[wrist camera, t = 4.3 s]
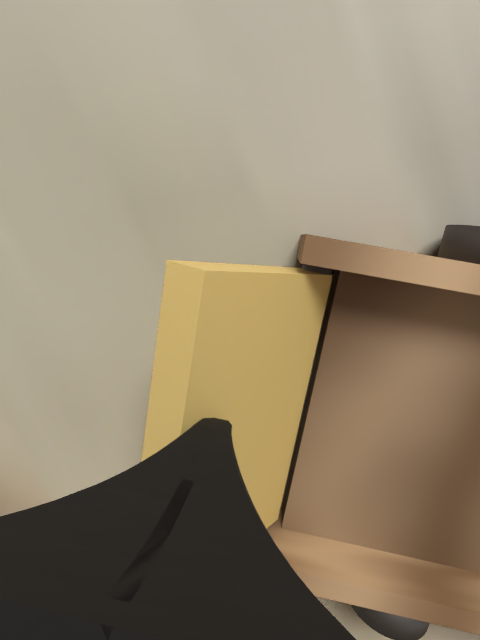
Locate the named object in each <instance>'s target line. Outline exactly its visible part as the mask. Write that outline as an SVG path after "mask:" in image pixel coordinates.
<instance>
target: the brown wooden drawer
mask: <svg viewBox="0 0 480 640" xmlns="http://www.w3.org/2000/svg"><path fill="white" fill-rule="evenodd" d="M297 259H298V260H299V262H300V263H302V264H307V265H313V266H318V267H324V268H330V269H335V272H334V276H333V281H332V285H331V289H330V294H329V298H328V303H327V307H326V312H325V316H324V320H323V325H322V329H321V334H320V338H319V343H318V347H317V351H316V356H315V360H314V365H313V369H312V374H311V378H310V383H309V387H308V391H307V396H306V400H305V405H304V409H303V414H302V418H301V422H300V427H299V431H298V436H297V440H296V445H295V449H294V453H293V458H292V462H291V467H290V471H289V476H288V480H287V484H286V489H285V493H284V498H283V502H282V507H280V512H279V516H278V519H277V520H276V521H275V522H274V523H273V524H272V525H270V526H269V527H268V528H267V530H268V532H269V534H270V536H271V537H272V539H273V541H274V542H275V544H276V545H277V547H278V548H279V550H280V551H281V552H282V554H283V555H284V557H285V558H286V560H287V561H288V562H289V564H290V565H291V567H292V568H293V570H294V571H295V572H296V574H297V575H298V576H299V577H300V579H301V580H302V581H303V582H304V583H305V585H306V586H307V587H308V588H309V590H310V591H311V592H312V593H313V594H314V596H317V597H321V598H326V599H330V600H334V601H338V602H343V603H347V604H351V606H352V608H353V609H354V611H355V612H356V613H357V615H358V616H359V617H360V618H361V619H362V620H363V621H364V622H365V623H366V624H367V625H368V626H370V627H371V628H372V629H374V630H375V631H377V632H378V633H380V634H382V635H384V636H386V637H388V638H391V639H394V640H418V639H420V638H421V637H422V636H423V635H424V634H425V633H426V631H427V628H428V626H429V623H432V624H436V625H440V626H445V627H449V628H453V629H457V630H462V631H466V632H470V633H474V634H479V635H480V226H469V225H447V226H446V228H445V231H444V235H443V238H442V242H441V245H440V249H439V252H438V256H437V257H434V256H428V255H423V254H417V253H411V252H405V251H400V250H394V249H388V248H382V247H377V246H371V245H365V244H359V243H354V242H348V241H342V240H336V239H331V238H325V237H319V236H313V235H308V234H303V235H301V238H300V243H299V248H298V253H297Z"/></svg>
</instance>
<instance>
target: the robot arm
mask: <svg viewBox="0 0 480 640" xmlns="http://www.w3.org/2000/svg"><path fill="white" fill-rule="evenodd" d="M0 640H356V639H355V638H354V637H353V636H352V635H351V634H350V633H349V632H348V631H347V630H346V629H345V628H344V627H343V626H342V625H341V623H340V622H339V621H338V620H337V619H336V618H335V617H334V616H333V615H332V614H331V613H330V612H329V611H328V610H327V609H326V608H325V607H324V606H323V605H322V604H321V603H320V601H319V600H318V599H317V598H316V597H315V596H314V594H313V593H312V592H311V591H310V590H309V588H308V587H307V586H306V585H305V583H304V582H303V581H302V580H301V579H300V577H299V576H298V575H297V574H296V572H295V571H294V570H293V568H292V567H291V565H290V564H289V562H288V561H287V560H286V558H285V557H284V555H283V554H282V552H281V551H280V550H279V548H278V547H277V545H276V544H275V542H274V541H273V539H272V537H271V536H270V534H269V532H268V530H267V529H266V527H265V525H264V524H263V522H262V520H261V518H260V516H259V514H258V512H257V510H256V508H255V506H254V504H253V502H252V500H251V498H250V495H249V493H248V491H247V488H246V486H245V483H244V480H243V478H242V475H241V472H240V469H239V466H238V462H237V459H236V455H235V451H234V447H233V441H232V425H231V423H230V422H229V421H228V420H223V419H218V418H203V419H201V420H200V421H198V422H197V423H196V424H194V425H193V426H192V427H191V428H189V429H188V430H187V431H186V432H184V433H183V434H182V435H180V436H179V437H178V438H176V439H175V440H174V441H172V442H171V443H169V444H168V445H167V446H165V447H164V448H162V449H161V450H159V451H158V452H156V453H155V454H153V455H152V456H150V457H148V458H147V459H145V460H144V461H142V462H140V463H139V464H137V465H135V466H134V467H132V468H130V469H128V470H126V471H124V472H122V473H120V474H118V475H116V476H114V477H112V478H110V479H108V480H106V481H103V482H101V483H99V484H97V485H94V486H91V487H89V488H86V489H84V490H81V491H78V492H76V493H73V494H70V495H68V496H65V497H63V498H60V499H57V500H55V501H52V502H49V503H45V504H42V505H39V506H36V507H33V508H29V509H26V510H23V511H19V512H15V513H12V514H8V515H4V516H1V517H0Z"/></svg>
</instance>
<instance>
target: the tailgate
mask: <svg viewBox="0 0 480 640" xmlns="http://www.w3.org/2000/svg"><path fill="white" fill-rule="evenodd" d="M332 270H333V269H330V268H324V267H318V266H313V265H307V264H302V268H294V267H277V266H260V265H243V264H226V263H209V262H192V261H175V260H167V261H166V269H165V277H164V285H163V293H162V301H161V309H160V317H159V325H158V333H157V341H156V349H155V357H154V365H153V373H152V381H151V389H150V396H149V404H148V412H147V420H146V428H145V436H144V444H143V452H142V460H141V462H142V461H144V460H145V459H147V458H148V457H150V456H152V455H153V454H155V453H156V452H158V451H159V450H161V449H162V448H164V447H165V446H167V445H168V444H169V443H171V442H172V441H174V440H175V439H176V438H178V437H179V436H180V435H182V434H183V433H184V432H186V431H187V430H188V429H189V428H191V427H192V426H193V425H194V424H196V423H197V422H198V421H200V420H201V419H203V418H218V419H223V420H228V421H229V422H230V423H231V425H232V441H233V447H234V451H235V455H236V459H237V462H238V466H239V469H240V472H241V475H242V478H243V480H244V483H245V486H246V488H247V491H248V493H249V495H250V498H251V500H252V502H253V504H254V506H255V508H256V510H257V512H258V514H259V516H260V518H261V520H262V522H263V524H264V525H265V527H266V529H267V528H268V527H269V526H270V525H272V524H273V523H274V522H275V521H276V520H277V519H278V516H279V512H280V507H281V503H282V498H283V494H284V489H285V485H286V480H287V476H288V472H289V467H290V463H291V458H292V454H293V449H294V445H295V440H296V436H297V432H298V427H299V423H300V418H301V414H302V409H303V405H304V400H305V396H306V392H307V387H308V383H309V378H310V374H311V369H312V365H313V360H314V356H315V352H316V347H317V343H318V338H319V334H320V329H321V325H322V320H323V316H324V312H325V307H326V303H327V298H328V294H329V289H330V285H331V280H332V276H333V275H331V274H332Z"/></svg>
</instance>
